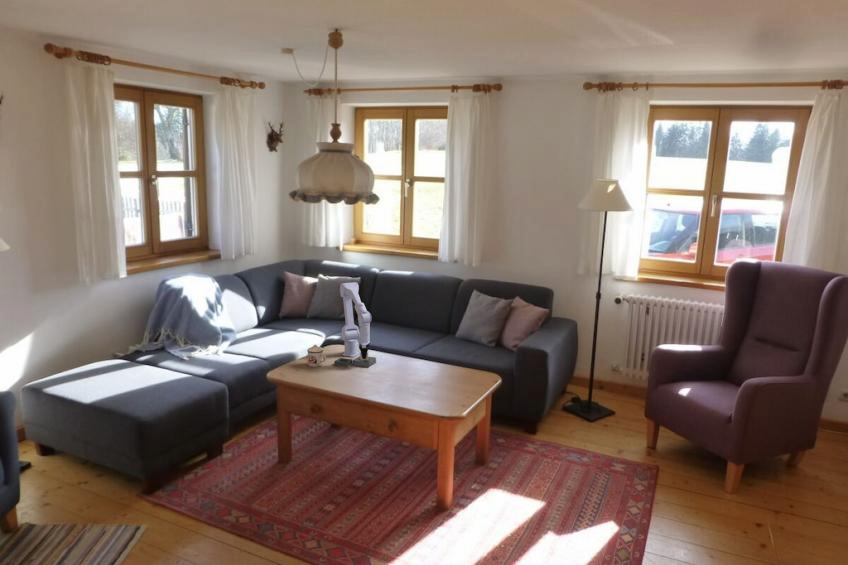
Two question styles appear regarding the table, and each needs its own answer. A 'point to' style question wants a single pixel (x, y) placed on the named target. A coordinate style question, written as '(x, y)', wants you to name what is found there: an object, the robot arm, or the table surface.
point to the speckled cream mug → (315, 356)
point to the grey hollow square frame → (343, 362)
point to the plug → (364, 359)
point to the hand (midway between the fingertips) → (364, 356)
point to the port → (364, 362)
